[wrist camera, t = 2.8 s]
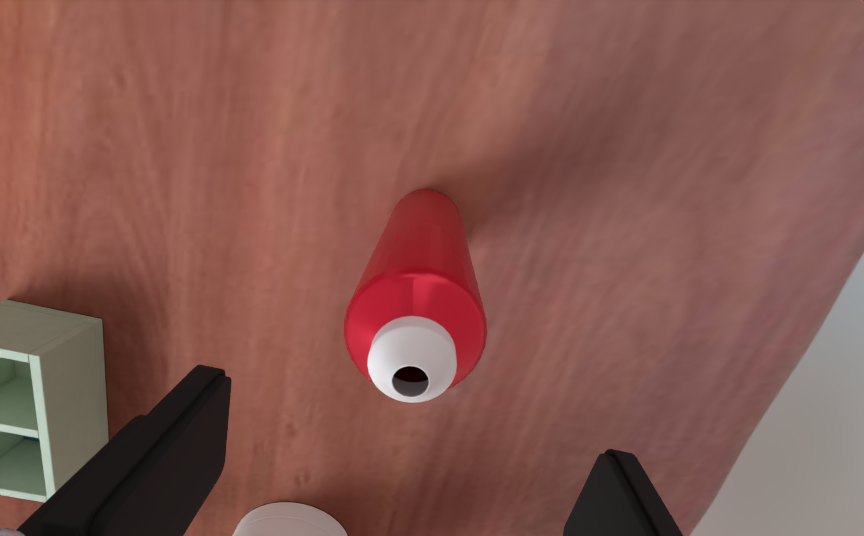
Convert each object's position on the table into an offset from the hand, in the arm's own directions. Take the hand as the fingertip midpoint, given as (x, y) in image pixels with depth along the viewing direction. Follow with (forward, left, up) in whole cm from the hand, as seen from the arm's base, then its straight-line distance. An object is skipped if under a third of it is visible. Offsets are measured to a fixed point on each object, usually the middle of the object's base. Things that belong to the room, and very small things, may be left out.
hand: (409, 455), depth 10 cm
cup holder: (+22, -29, -23) cm, 43 cm away
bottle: (0, 0, -23) cm, 23 cm away
